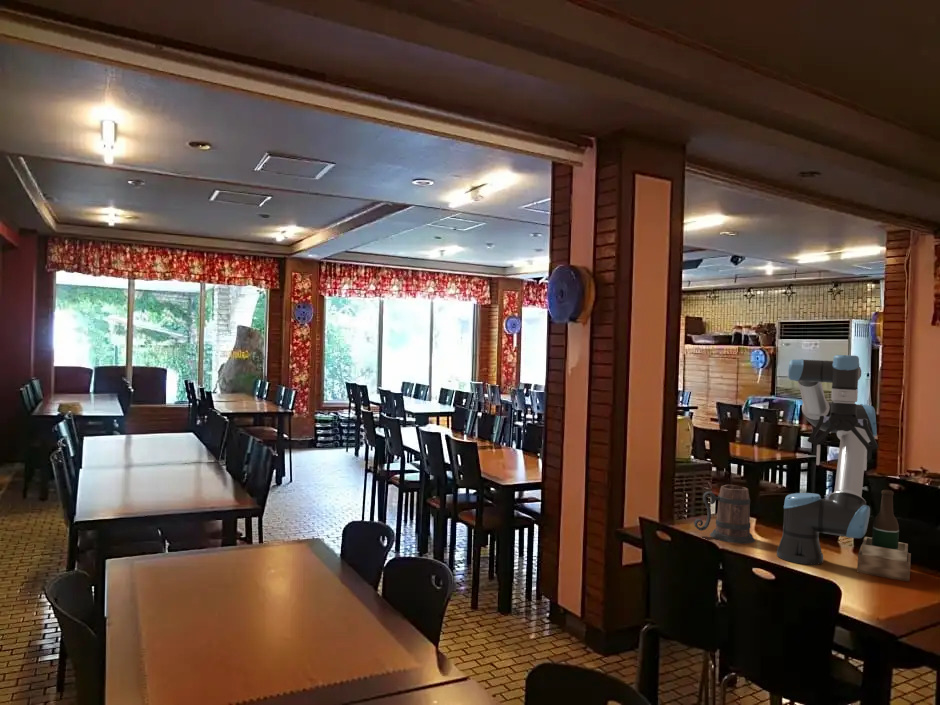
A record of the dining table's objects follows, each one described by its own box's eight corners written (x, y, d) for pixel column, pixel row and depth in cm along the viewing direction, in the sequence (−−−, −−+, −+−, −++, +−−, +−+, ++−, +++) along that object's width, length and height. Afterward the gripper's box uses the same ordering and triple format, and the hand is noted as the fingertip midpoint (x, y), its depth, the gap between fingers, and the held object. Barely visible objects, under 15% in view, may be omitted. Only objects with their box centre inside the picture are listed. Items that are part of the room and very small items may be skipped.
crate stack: (857, 572, 237) (858, 544, 237) (860, 561, 249) (861, 535, 249) (909, 581, 229) (910, 553, 228) (910, 570, 241) (911, 543, 241)
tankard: (745, 532, 284) (747, 484, 284) (762, 544, 267) (764, 492, 267) (688, 530, 285) (690, 481, 285) (700, 541, 268) (703, 489, 268)
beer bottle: (895, 559, 241) (899, 490, 241) (899, 565, 234) (902, 493, 234) (870, 555, 244) (873, 487, 244) (872, 561, 237) (875, 491, 237)
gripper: (800, 399, 231) (797, 463, 231) (888, 405, 217) (885, 473, 217) (803, 399, 237) (800, 461, 237) (888, 404, 224) (885, 470, 224)
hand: (841, 467), depth 227 cm, fingers open, 13 cm apart
